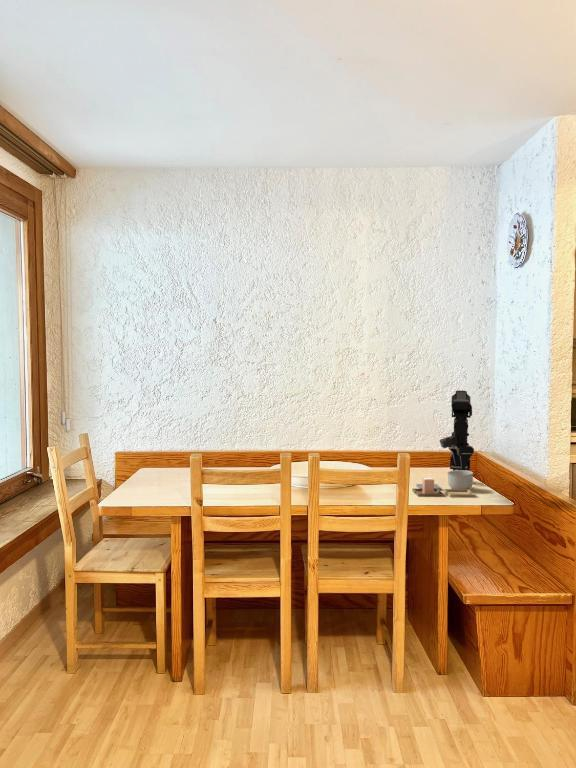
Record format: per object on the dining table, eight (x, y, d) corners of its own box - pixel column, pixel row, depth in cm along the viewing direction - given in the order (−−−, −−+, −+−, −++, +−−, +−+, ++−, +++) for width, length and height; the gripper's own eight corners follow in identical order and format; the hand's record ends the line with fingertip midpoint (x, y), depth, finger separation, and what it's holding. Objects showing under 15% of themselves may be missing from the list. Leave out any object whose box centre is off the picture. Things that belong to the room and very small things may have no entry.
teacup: (473, 493, 284) (473, 474, 283) (447, 491, 286) (448, 473, 286) (471, 486, 297) (471, 469, 297) (446, 485, 300) (446, 467, 299)
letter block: (422, 492, 281) (422, 477, 281) (431, 492, 281) (431, 477, 281) (424, 494, 277) (424, 479, 277) (433, 494, 277) (434, 479, 277)
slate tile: (416, 487, 295) (416, 483, 295) (436, 487, 295) (436, 484, 295) (420, 491, 286) (421, 488, 286) (441, 491, 286) (441, 488, 286)
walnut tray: (412, 492, 285) (412, 488, 285) (437, 492, 285) (437, 488, 285) (418, 497, 274) (418, 494, 274) (444, 497, 274) (444, 494, 274)
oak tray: (442, 492, 284) (442, 489, 284) (468, 492, 284) (468, 489, 284) (449, 498, 273) (449, 494, 273) (476, 498, 273) (476, 494, 273)
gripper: (436, 427, 286) (435, 463, 287) (447, 433, 268) (446, 471, 268) (461, 427, 287) (460, 463, 287) (474, 433, 268) (473, 471, 269)
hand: (459, 467), depth 278 cm, fingers open, 9 cm apart
